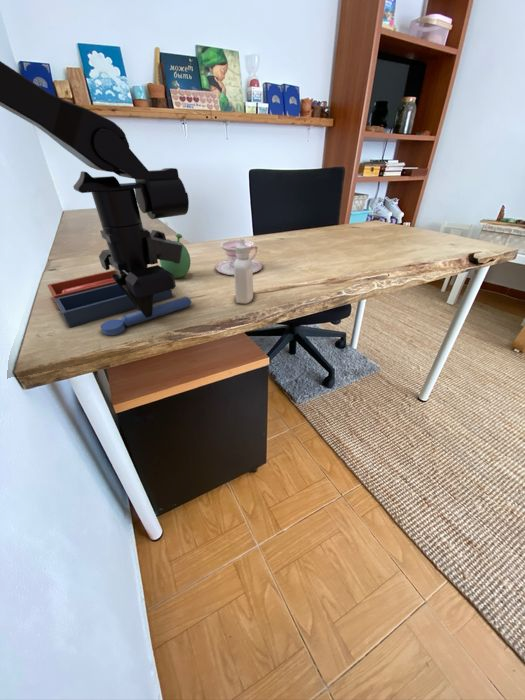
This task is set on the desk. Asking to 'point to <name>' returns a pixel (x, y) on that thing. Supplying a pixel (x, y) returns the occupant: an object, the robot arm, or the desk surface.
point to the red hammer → (87, 285)
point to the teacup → (230, 249)
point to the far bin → (60, 286)
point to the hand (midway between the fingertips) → (146, 314)
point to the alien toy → (175, 268)
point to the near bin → (98, 304)
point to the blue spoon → (130, 319)
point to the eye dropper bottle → (243, 274)
